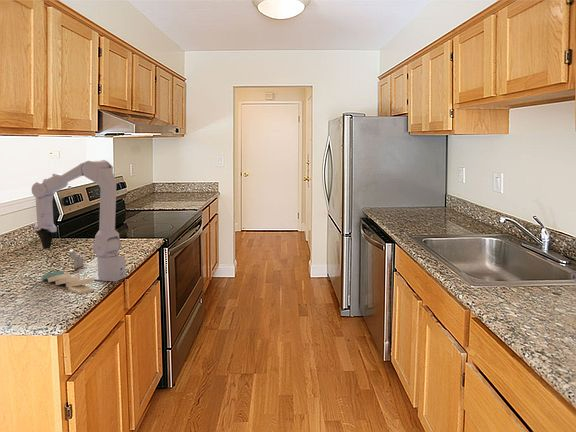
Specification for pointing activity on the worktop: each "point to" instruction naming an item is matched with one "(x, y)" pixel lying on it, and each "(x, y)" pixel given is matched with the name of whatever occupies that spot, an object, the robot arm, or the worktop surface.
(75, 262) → the grey angular flat piece
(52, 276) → the end tile
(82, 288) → the domino
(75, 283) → the domino
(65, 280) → the domino
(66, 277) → the domino
